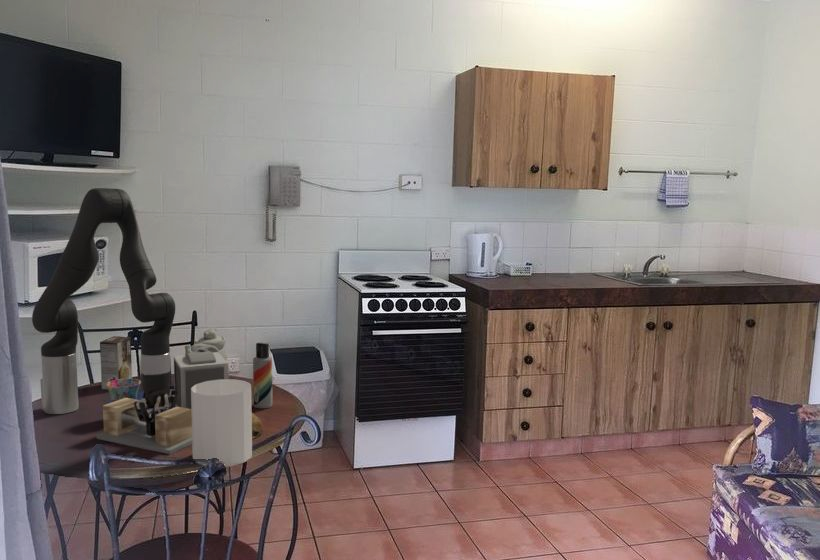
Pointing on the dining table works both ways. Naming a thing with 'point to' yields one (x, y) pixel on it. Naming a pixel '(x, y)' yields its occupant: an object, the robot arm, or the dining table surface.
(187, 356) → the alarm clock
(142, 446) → the base mat
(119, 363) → the coffee box
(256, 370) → the lotion bottle
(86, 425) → the dining table surface
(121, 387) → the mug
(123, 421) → the tube
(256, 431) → the bread roll
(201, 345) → the grey lumpy piece
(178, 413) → the socket block
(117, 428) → the guide block
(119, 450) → the dining table surface
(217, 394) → the container
